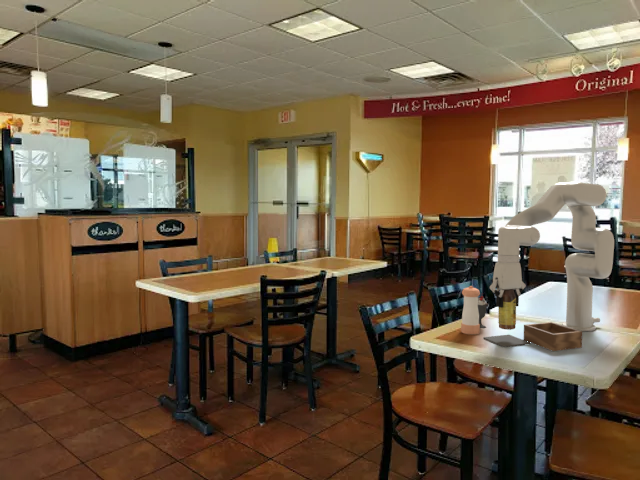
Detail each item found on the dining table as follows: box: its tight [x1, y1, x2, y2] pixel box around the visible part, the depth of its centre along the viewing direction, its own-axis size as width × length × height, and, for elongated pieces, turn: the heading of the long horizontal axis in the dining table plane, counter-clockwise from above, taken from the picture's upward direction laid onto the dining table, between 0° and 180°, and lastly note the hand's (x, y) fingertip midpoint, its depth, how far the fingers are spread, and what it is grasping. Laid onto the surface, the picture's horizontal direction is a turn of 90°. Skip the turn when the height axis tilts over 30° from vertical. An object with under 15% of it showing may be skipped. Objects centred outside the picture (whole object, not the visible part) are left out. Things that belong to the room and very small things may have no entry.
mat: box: [482, 334, 532, 348], centre depth 184 cm, size 12×12×1 cm
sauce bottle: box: [497, 289, 517, 331], centre depth 183 cm, size 7×6×20 cm
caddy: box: [523, 321, 583, 352], centre depth 180 cm, size 13×15×6 cm
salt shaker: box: [460, 285, 481, 335], centre depth 197 cm, size 7×7×19 cm
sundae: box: [478, 292, 489, 329], centre depth 205 cm, size 7×7×15 cm
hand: (507, 305), depth 183 cm, fingers closed on sauce bottle, 6 cm apart
